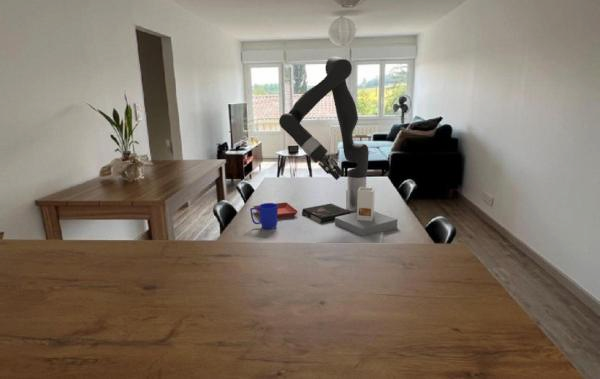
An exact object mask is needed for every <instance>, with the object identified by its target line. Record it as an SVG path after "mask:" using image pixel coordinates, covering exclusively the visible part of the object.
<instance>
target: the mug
mask: <svg viewBox="0 0 600 379" xmlns="http://www.w3.org/2000/svg"><path fill="white" fill-rule="evenodd" d="M258 205H259V207H255V208H254V207H250V208H249V210H250V217H251V220H252V223H253V224H254V225H260V224H261V228H263V229H266V230H270V229H271V230H272V229H275V228H277V225H278V219H277V212H278V205H277V204H276V203H275V202H274V203H273V202H266V203H265V202H264V203H261V204H258ZM255 209H257V210H259V213H258V214H259V222H256V221H255V219H254V215H253V210H255Z"/></svg>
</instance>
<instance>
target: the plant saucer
mask: <svg viewBox="0 0 600 379" xmlns="http://www.w3.org/2000/svg"><path fill="white" fill-rule="evenodd" d="M275 204H277V205H278V212H277V220H278V219H279V220H280V219H286V218H293V217H295V216H296V215H297V214H298V213H299V211H298V210H297V209H296V208H295V207H294V206H292V205H291V204H290V203H288V202H278V203H277V202H276V203H275ZM259 205H260V204H258V205H253V206H252V208H255V207H259ZM254 210H255V211H256V213H258V214H259V210H257V209H254Z"/></svg>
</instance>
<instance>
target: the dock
mask: <svg viewBox="0 0 600 379" xmlns="http://www.w3.org/2000/svg"><path fill="white" fill-rule="evenodd" d="M334 225H336V226H339V227H341V228H344V229H346V230H348V231H349V232H352V233H355V234H357V235H358V236H362V237H364V236H368V235H370V234H375V233H377V232H381V231H382V233H384V232H388V231H392V230H395V229H398V218H395V217H392V216H390V215H386V214H383V213H380V212H378V211H375V210H374V217H373V220H372V221H364V220H357V212H351V214H347V215H343V216H338V217H335V221H334Z"/></svg>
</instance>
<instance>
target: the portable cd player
mask: <svg viewBox="0 0 600 379" xmlns="http://www.w3.org/2000/svg"><path fill="white" fill-rule="evenodd" d="M351 213H352V211H349V210H348V209H347V208H346V209H345V208H343V207H340V206H339V205H336V204H333V203H327V204H321V205H316V206H310V207H305V208H302V210H301V216H302V217H307V218H308V219H310V220H313V221H314V222H317V223H318V224H325V223H329V222H335V217H338V216H343V215H347V214H351Z"/></svg>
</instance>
